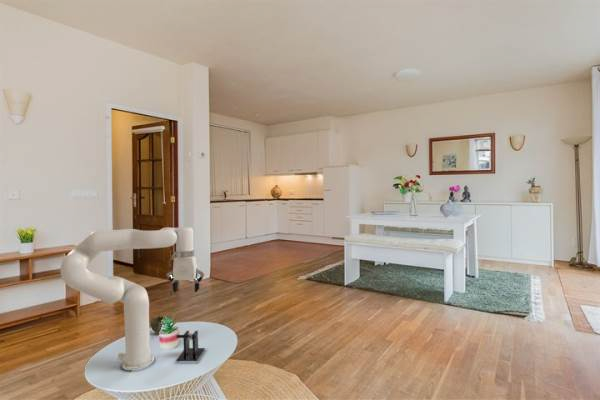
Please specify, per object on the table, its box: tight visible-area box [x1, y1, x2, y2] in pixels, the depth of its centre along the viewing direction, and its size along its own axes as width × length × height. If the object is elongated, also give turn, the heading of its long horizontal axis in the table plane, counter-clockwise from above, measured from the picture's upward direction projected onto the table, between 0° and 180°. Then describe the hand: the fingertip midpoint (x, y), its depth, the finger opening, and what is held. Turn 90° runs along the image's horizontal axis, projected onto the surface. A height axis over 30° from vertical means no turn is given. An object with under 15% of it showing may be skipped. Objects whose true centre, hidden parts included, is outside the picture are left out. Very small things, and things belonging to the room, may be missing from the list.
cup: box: [149, 315, 166, 336], centre depth 176 cm, size 8×7×8 cm
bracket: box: [176, 330, 206, 362], centre depth 151 cm, size 11×9×11 cm
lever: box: [176, 333, 193, 341], centre depth 147 cm, size 12×5×2 cm, turn 178°
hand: (186, 291), depth 155 cm, fingers open, 9 cm apart
